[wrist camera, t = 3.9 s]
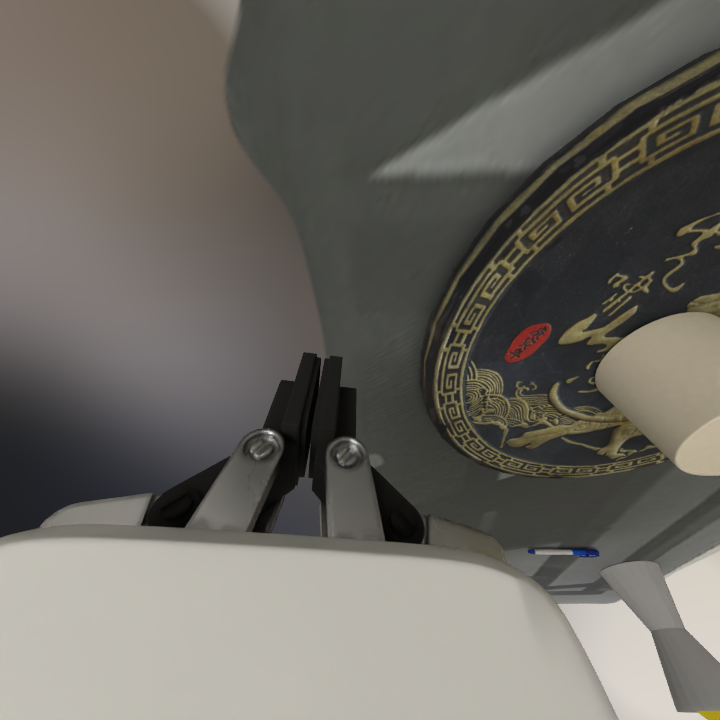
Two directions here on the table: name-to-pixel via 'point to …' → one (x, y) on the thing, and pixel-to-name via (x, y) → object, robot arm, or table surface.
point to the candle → (670, 387)
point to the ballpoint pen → (566, 552)
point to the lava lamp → (669, 637)
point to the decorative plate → (580, 285)
